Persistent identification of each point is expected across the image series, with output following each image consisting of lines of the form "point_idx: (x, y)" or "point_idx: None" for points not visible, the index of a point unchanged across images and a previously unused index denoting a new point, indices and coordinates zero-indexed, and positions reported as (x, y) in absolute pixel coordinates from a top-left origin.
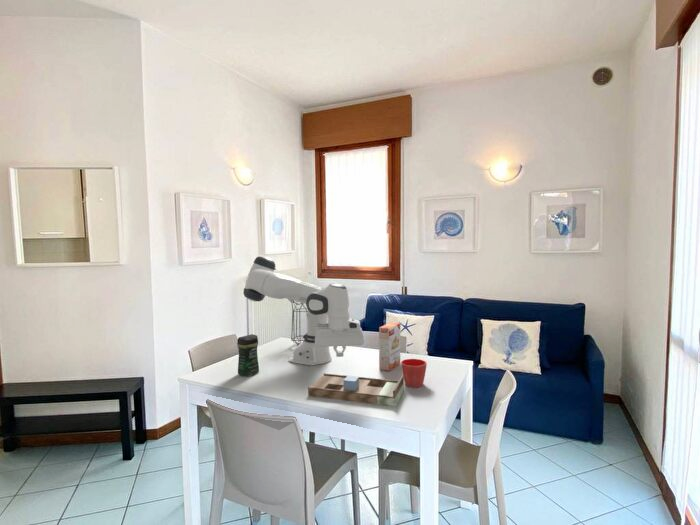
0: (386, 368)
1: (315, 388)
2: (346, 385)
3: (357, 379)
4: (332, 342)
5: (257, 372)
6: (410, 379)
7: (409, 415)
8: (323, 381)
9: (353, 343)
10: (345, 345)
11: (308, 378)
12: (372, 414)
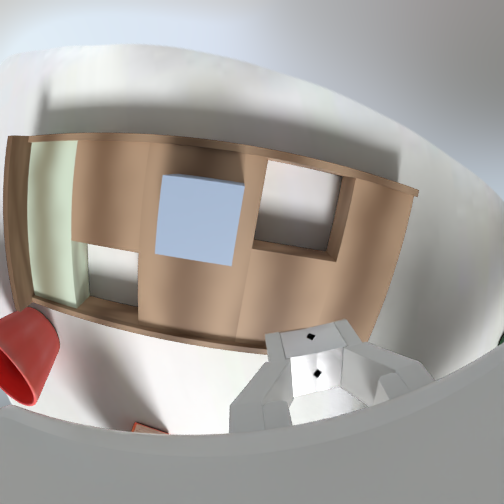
0: (142, 430)
1: (387, 179)
2: (225, 181)
3: (158, 221)
4: (497, 405)
5: (501, 339)
6: (21, 318)
7: (21, 94)
8: (362, 284)
9: (68, 448)
10: (223, 437)
11: (403, 349)
12: (111, 54)
